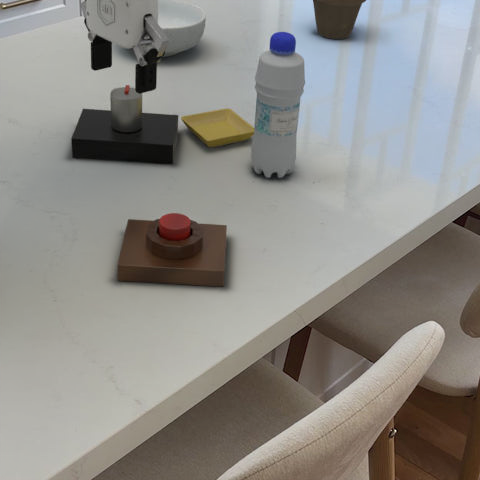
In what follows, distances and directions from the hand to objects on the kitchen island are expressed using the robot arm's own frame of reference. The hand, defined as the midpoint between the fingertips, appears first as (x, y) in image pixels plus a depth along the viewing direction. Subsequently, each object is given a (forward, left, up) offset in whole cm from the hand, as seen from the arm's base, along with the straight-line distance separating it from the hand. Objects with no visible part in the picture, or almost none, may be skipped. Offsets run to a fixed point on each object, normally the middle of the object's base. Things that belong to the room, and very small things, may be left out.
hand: (123, 79), depth 122 cm
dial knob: (0, 0, -7) cm, 7 cm away
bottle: (+21, -5, -10) cm, 24 cm away
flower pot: (+34, +54, -10) cm, 65 cm away
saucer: (+13, +5, -10) cm, 18 cm away
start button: (+9, -29, -7) cm, 31 cm away
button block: (+9, -29, -10) cm, 32 cm away
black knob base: (0, 0, -10) cm, 10 cm away
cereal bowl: (+1, +39, -10) cm, 41 cm away
